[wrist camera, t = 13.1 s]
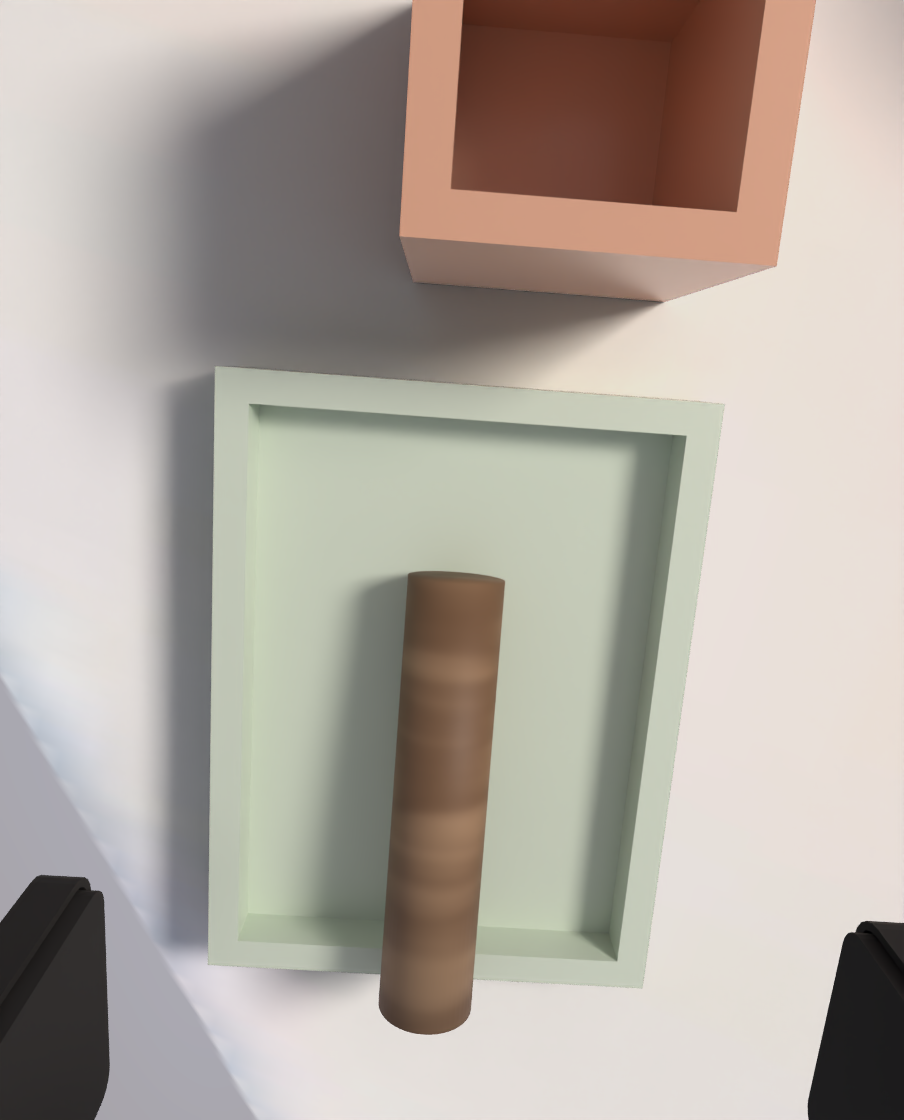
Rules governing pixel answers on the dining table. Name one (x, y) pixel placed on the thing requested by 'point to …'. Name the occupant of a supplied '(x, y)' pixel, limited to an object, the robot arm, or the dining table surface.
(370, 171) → the dining table surface
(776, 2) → the pink square bin
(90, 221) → the dining table surface
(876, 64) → the dining table surface
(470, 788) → the dowel
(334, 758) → the tray
